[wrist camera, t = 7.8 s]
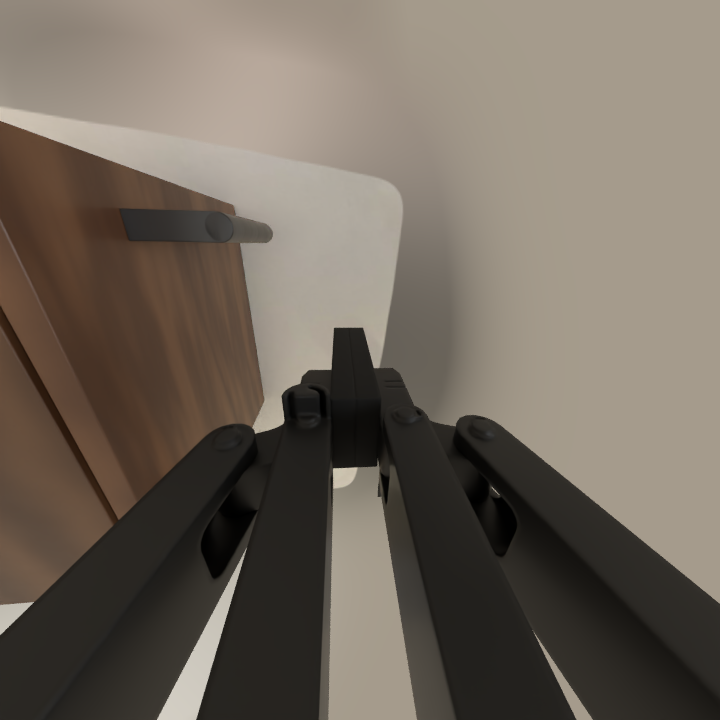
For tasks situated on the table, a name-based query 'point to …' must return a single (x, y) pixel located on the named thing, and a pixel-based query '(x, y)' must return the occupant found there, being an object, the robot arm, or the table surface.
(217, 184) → the table surface
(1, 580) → the cupboard
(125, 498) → the door
